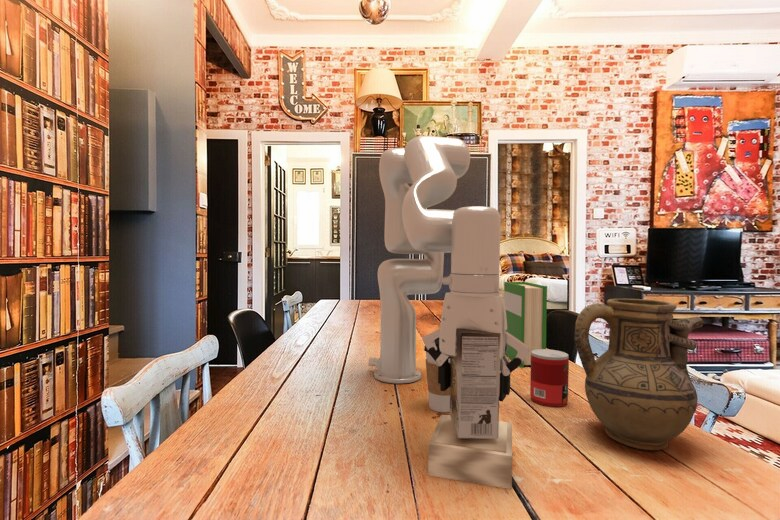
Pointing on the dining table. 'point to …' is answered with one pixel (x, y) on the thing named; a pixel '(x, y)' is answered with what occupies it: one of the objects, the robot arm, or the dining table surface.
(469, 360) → the coffee box
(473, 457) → the beige square tray
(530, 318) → the hardback book
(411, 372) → the robot arm
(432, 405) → the coffee cup
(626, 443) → the decorative pitcher
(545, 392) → the canned food
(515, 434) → the dining table surface
